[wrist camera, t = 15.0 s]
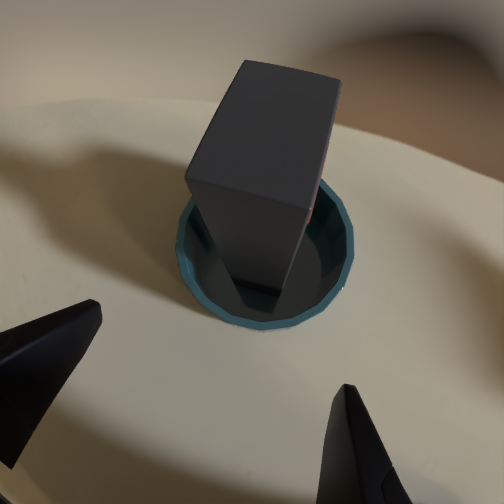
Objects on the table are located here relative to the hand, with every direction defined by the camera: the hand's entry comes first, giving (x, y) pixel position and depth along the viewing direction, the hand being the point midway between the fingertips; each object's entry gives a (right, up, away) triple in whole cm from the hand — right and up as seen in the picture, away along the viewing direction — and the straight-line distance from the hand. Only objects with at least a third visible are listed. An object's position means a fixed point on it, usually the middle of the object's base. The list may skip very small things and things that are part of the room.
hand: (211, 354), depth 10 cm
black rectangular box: (+2, +3, +11) cm, 12 cm away
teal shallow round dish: (+2, +3, +12) cm, 12 cm away
